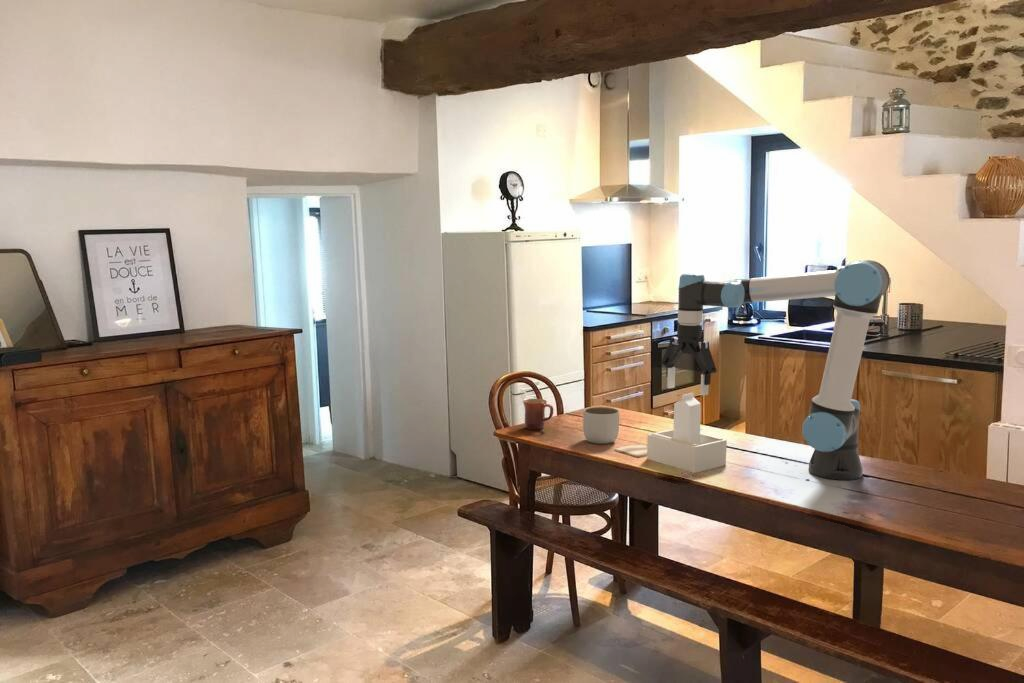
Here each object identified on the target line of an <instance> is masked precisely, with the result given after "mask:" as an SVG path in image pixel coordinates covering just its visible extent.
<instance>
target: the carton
mask: <svg viewBox="0 0 1024 683" xmlns="http://www.w3.org/2000/svg"><path fill="white" fill-rule="evenodd" d="M673 430H674V428H672V429H667V430H663V431H657V432H651V433H648V434H647V440H646V442H647V444H646V446H647V456H646V459H647V460H650V461H653V462H657V463H660V464H663V465H665V466H666V465H667V466H669V467H673V468H676V469H680V470H683V471H686V472H689V473H693V474H695V473H700V472H704V471H708V470H711V469H715V468H719V467H723V466H724V467H725V466H726V465H727V442H728V441H727V440H728V439H724V438H722V437H719V436H715V435H709V434H707V433H702V432H700V445H698V446H697V444H694V443H690V442H686V441H683V440H679V439H675V438H673Z"/></svg>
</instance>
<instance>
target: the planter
mask: <svg viewBox="0 0 1024 683" xmlns="http://www.w3.org/2000/svg"><path fill="white" fill-rule="evenodd" d="M582 417H583V418H582V423H583V424H582V428H583V431H582V432H583V435H584V438H585V440H587V441H588V442H589V443H592V444H597V445H606V444H607V445H609V444H612V443H614V442H615V441H616V440H617V438H618V436H619V431H620V410H619V409H617V408H614V407H609V406H606V407H605V406H593V407H587V408H584V409H583V410H582Z"/></svg>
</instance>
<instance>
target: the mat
mask: <svg viewBox="0 0 1024 683" xmlns="http://www.w3.org/2000/svg"><path fill="white" fill-rule="evenodd" d="M614 451H616V452H620V453H621V454H625V455H629V456H632V457H636V458H638V459H639V458H643V457H647V445H645V444H640V443H635V444H629V445H625V446H621V447H615V448H614Z"/></svg>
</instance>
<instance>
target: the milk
mask: <svg viewBox="0 0 1024 683" xmlns="http://www.w3.org/2000/svg"><path fill="white" fill-rule="evenodd" d="M694 394H695V393H694V392H689V393H684V394H682V395H681V399H680V400H678V401H676V402H674V403H673V429H674V430H673V438H675V439H679V440H683V441H686V442H690V443H694V444H697V446H698V445H700V433H701V415H702V414H701V413H702V410H701V409H702V404H701V402H700V401H699V400H697V398H695V396H694Z"/></svg>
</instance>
